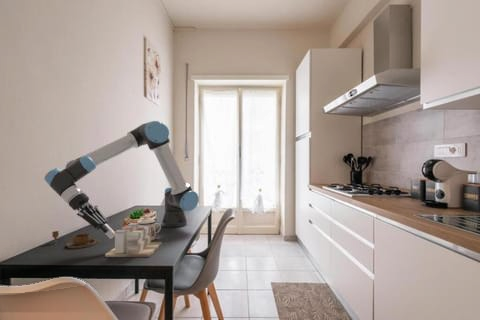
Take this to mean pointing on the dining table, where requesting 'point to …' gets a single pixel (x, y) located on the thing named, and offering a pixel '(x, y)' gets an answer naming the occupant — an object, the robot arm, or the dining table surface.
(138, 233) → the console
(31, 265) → the dining table surface
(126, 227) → the key terracotta
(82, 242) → the place setting
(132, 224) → the key
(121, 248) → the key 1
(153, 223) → the teacup with lid
